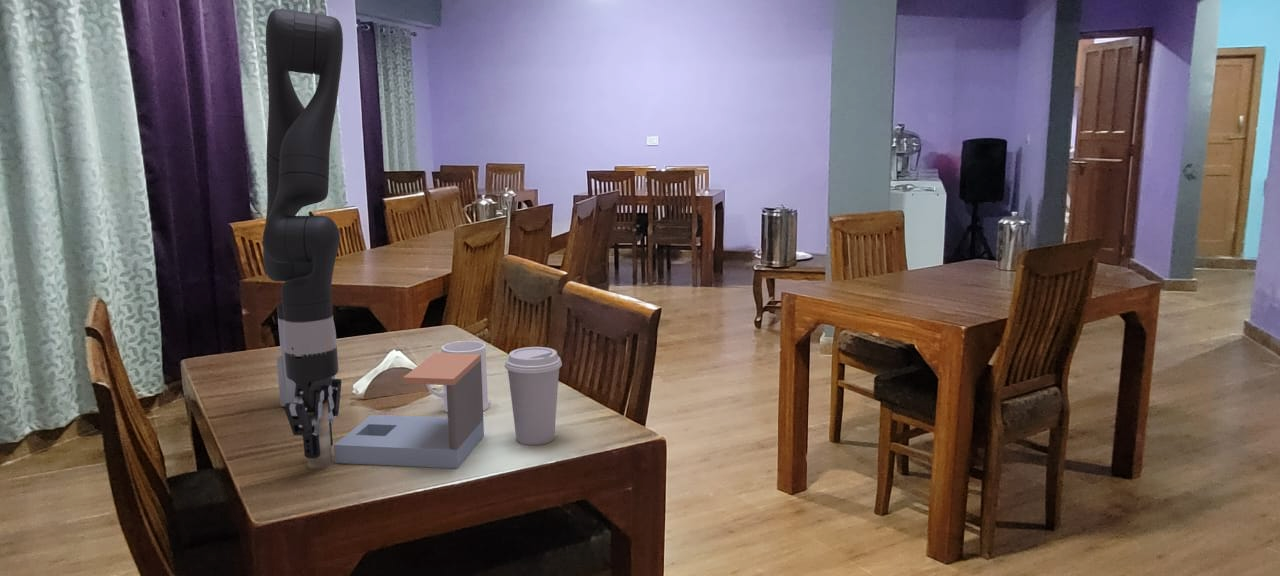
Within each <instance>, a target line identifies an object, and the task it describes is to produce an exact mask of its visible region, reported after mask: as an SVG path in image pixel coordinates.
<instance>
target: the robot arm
mask: <svg viewBox="0 0 1280 576" xmlns="http://www.w3.org/2000/svg"><path fill="white" fill-rule="evenodd" d="M341 24H342V23H341V22H340V20H339V19H337V18H336V17H335V16H330V15H327V14H319V13H313V12H308V11H307V12H306V11H299V10H293V9H285V8H276V9H272V10H271V11H270V12H269V14H268V17H267V20H266V28H265V29H266V30H265V54H266V55H265V57H266V59H265V60H266V71H267V73H266V74H267V75H266V76H267V90H268V91H267V92H268V94H267V95H268V115H267V117H268V118H267V135H266V136H267V137H266V191H267V192H266V193H267V194H266V199H267V202H266V215H265V217H266V218H265V226H264V229H263V234H262V246H263V249H262V253H263V255H262V258H263V259H262V260H263V267H264V272H265V274H266V276H267V277H268V278H269V279H270V280H272V281H273V282H283V283H282V285H281V290H280V295H281V300H280V301H279V302H278V303H277V306H276V311H277V312H276V313H277V324H278V325H277V326H278V336H279V337H278V338H279V347H280V348H279V349H280V355H279V356H277V358H276V370H277V379H278V380H277V381H278V391H279V403H280V407H284V410H285V414H286V417H287V420H288V422H289V425H290V429H291V431H292V434H293V436H301V437H302V440H303V441H302V442H303V452H304V454H303V455H304V457H305V458H306V459H307V458H317V457H319V456H320V445H319V434H318V423H319V420H320V419H321V418H322V404H323V403H325V402H328V414H329V427H330V440H331V447H332V446H334V444H333V441H334V440H333V430H332V429H333V427H332V425H333V423H334V420H335V419H334V418H335V417H338V415H339V410H340V404H341V402H340V401H341V392H342V379H341V378H336V375H337V374H338V372H339V360H338V359H339V357H338V345H337V332H336V326H335V321H334V315H333V302H332V300H333V298H332V282H333V274H334V268H335V263H336V259H337V255H338V253H339V252H338V250H339V247H340V239H341V238H340V236H341V234H340V230H339V228H338V227H339V226H338V225H337V224H336V222H335V221H334V220H333V219H332V218H331V217H329V216H326V215H297V214H298V213H299V211H300V210H301V209H302V208H304V207H307V206H310V205H315V204H318V203H321V202H323V201H325V200H326V199H327V197H328V195H329V186H330V185H329V182H330V154H331V153H330V152H331V151H330V150H331V140H332V132H333V126H334V120H335V114H336V108H337V101H338V96H339V89H340V80H341V71H342V64H343V50H344V37H343V36H344V35H343V34H344V33H343V29H342V28H343V27H342V25H341ZM290 72H293V73H298V74H299V73H301V74H307V75H317V76H319V77H318V83H317V86H316V89H315V91H314V93H313V96H312V97H311V99H310V101H309V102H308V103H307V105H306V107H304V104H303V103H302V102H301V100H300V98H299V96H298V95H297V92H296V91H295V88H294V86H293V82H292V80H291V76H290ZM306 412H315V414H314V415H307V413H306ZM309 420H311V421H312V427H311V425H310V422H309Z"/></svg>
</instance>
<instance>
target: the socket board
mask: <svg viewBox="0 0 1280 576" xmlns="http://www.w3.org/2000/svg"><path fill="white" fill-rule="evenodd" d="M402 383H403V385H404V384H405V385H407V384H408V385H426V384H429V385H430V386H431V385H434V386H436V385H437V386H443V385H446V388H447V409H448V413H447V417H440V416H439V417H438V416H419V415H418V416H415V415H414V416H411V415H391V414H390V415H388V414H387V415H386V414H371V415H369V416H367V418H366V419H364V420H363V421H362V422H360V423H359V424H358V425H356V426H355V427H354V428H353V429H352V430H350V431H349V432H348V433H347V434H346V435H344V436H343V437H342V438H340V439H339V440H337V442H335V444H333V451H334V453H333V454H334V463H335V464H353V465H354V464H356V465H373V466H374V465H377V466H378V465H379V466H395V467H396V466H397V467H419V468H420V467H421V468H440V469H441V468H442V469H459V468H460V467H461V465H462V464H463V463H464V461H465V460H466V459H467V457H469V455H470V454H471V453H472V451H473V450H474V449H476V446H478V444H479V442H481V440H482V439H483V438H484V437H485V427H484V426H485V423H484V411H483V395H482V370H481V354H457V353H442V352H434V353H432V355H430V356H428V358H426V359H425V360H424V361H422V362H421V363H419V365H417V366H416V367H415V368H413V369H412V370H410V372H408V373H407V374H405V375H404V376H403V377H402Z"/></svg>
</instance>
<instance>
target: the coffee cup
mask: <svg viewBox="0 0 1280 576" xmlns="http://www.w3.org/2000/svg"><path fill="white" fill-rule="evenodd" d="M562 366H563V362H562V360H561V357H560V356H559V355H558V351H557V350H556V349H553V348H550V347H543V346H529V347H519V348H517V349H514V350H511V351H510V352H509V354H508V357H507V359H506V360H505V363H504V369H506V370H507V375H508V383H509V391H510V398H511V400H510V401H511V407H512V408H511V409H512V415H513V423H514V424H513V425H514V431H515V439H516V441H517V442H518V443H520V444H522V445H529V446H538V445H545V444H548V443H550V442H552V441H553V440H554V439H555V436H556V435H555V433H556V419H557V406H558V405H557V404H558V403H557V402H558V392H559V391H558V389H559V376H560V375H559V374H560V368H561V367H562Z"/></svg>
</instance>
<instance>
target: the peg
mask: <svg viewBox="0 0 1280 576" xmlns="http://www.w3.org/2000/svg"><path fill="white" fill-rule="evenodd" d="M306 413H307V415H314V414H315V412H306ZM309 422H310V425H311V427H312V421H311V420H309ZM318 434H319V445H320V456H319V457H317V458H306V459H307V467H308V469H310V470H322V469H323V470H324V469H327V468H330V466H332V465H333V457H332V455H333V454H332V446H331V440H330V427H329V414H328V402H325V403H323V404H322V418H321V419H320V420H319V423H318Z"/></svg>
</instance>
